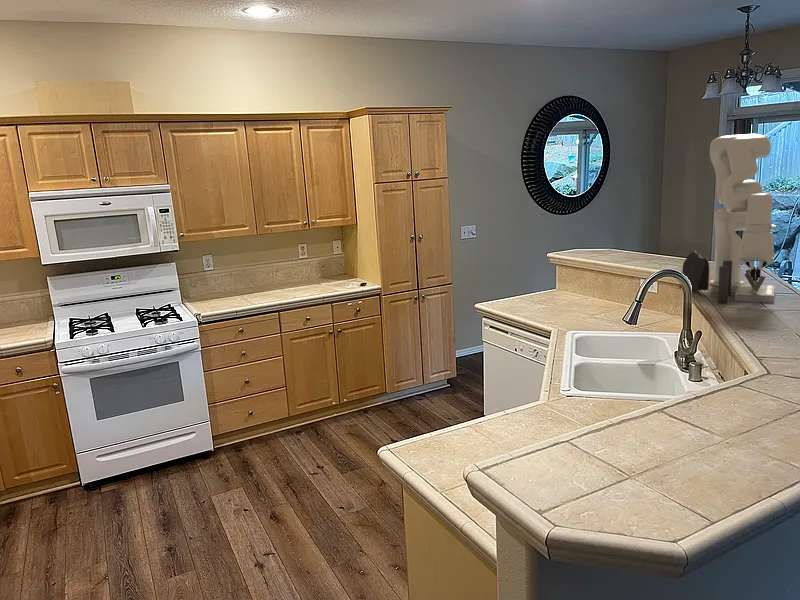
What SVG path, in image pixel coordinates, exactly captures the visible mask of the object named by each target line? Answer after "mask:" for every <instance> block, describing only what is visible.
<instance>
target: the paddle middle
mask: <svg viewBox="0 0 800 600" xmlns="http://www.w3.org/2000/svg"><path fill="white" fill-rule="evenodd" d="M743 276H745V278H746V279H747V281H748V283H749V285H751V286H752V288H753V289H754V287H755V285H756V283H755V281H753V278H751V275H750V273H749V272H747V273H746V272H745V273H744V275H743Z"/></svg>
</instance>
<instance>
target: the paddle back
mask: <svg viewBox="0 0 800 600" xmlns="http://www.w3.org/2000/svg"><path fill="white" fill-rule="evenodd" d="M747 272H749V273H750V275H751V269H750V268H749V269H747V270H745V273H747ZM754 281H755V283H756V284H757V282H758V281H756V280H754Z"/></svg>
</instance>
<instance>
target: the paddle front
mask: <svg viewBox="0 0 800 600" xmlns="http://www.w3.org/2000/svg"><path fill="white" fill-rule="evenodd" d="M766 278H767V276H766V275H764V274H760V278H758V281H757V284H756V285H755V287H754V289H753V294H756V292H757V291H758V290H759V288H760V286H761V285H763V283H764V281H765V280H766Z"/></svg>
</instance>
